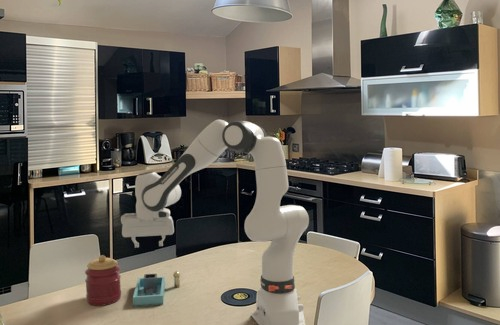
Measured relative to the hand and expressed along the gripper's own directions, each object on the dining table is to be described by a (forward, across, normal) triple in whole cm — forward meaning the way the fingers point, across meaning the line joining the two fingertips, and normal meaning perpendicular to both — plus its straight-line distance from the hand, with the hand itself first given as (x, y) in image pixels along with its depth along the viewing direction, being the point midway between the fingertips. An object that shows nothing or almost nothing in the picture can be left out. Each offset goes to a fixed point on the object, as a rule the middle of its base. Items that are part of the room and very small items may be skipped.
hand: (148, 246), depth 181 cm
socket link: (+19, 0, -2) cm, 19 cm away
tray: (+19, 0, -2) cm, 19 cm away
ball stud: (+19, +10, +4) cm, 22 cm away
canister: (+19, -18, -3) cm, 26 cm away
